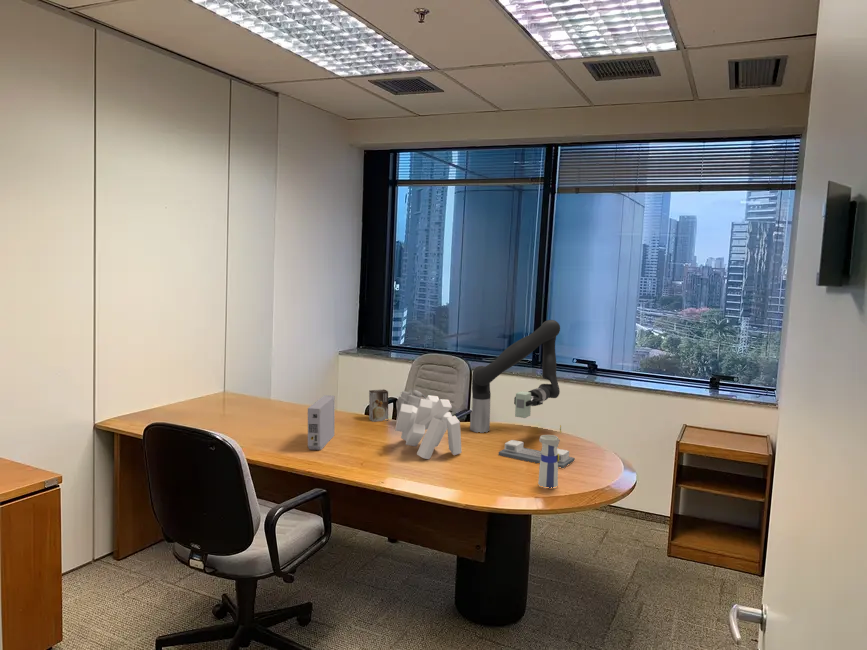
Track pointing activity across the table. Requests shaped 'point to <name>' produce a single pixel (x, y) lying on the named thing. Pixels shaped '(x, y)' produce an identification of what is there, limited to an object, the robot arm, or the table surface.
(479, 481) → the table surface
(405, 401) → the twin engine backpack
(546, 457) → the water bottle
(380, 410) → the coffee box
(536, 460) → the grey board
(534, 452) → the mounting plate
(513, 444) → the rectangular blocks
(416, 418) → the white angular blocks
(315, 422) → the game console
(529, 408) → the tall block
